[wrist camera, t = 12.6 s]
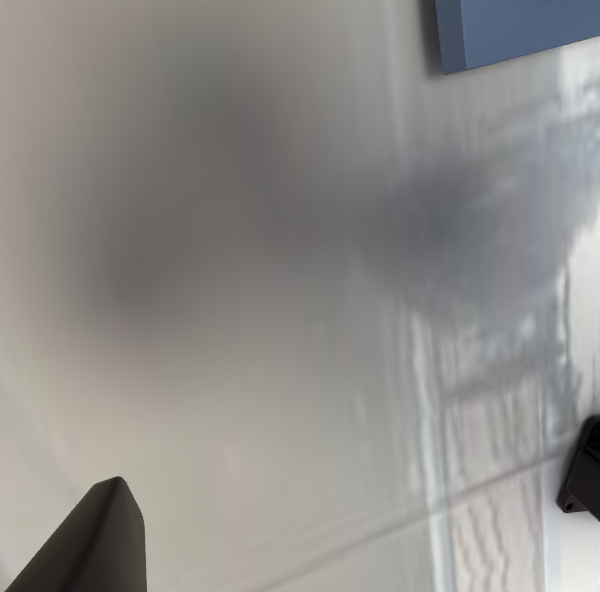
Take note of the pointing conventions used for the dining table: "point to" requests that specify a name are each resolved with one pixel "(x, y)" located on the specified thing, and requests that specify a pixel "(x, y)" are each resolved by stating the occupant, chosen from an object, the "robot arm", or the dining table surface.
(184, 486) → the dining table surface
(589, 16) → the brush
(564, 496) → the robot arm
